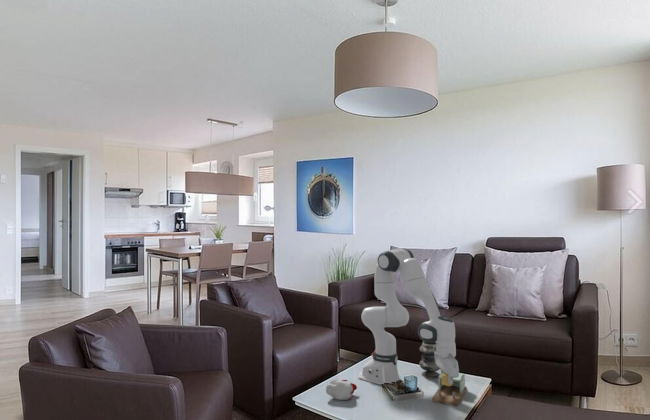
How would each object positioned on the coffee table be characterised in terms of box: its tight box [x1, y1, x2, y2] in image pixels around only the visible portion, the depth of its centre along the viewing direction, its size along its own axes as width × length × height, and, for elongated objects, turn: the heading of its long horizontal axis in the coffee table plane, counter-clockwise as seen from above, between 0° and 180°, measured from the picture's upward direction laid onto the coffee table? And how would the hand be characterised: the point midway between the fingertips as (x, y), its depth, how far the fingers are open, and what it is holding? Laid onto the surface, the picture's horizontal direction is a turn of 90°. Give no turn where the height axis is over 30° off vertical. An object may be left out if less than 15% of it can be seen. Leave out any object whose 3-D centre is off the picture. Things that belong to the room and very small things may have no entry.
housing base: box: [431, 385, 467, 407], centre depth 206 cm, size 12×22×4 cm, turn 151°
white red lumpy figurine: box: [325, 378, 358, 401], centre depth 205 cm, size 9×11×15 cm
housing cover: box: [437, 372, 466, 393], centre depth 210 cm, size 11×9×6 cm
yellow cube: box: [441, 373, 453, 386], centre depth 200 cm, size 4×4×4 cm
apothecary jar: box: [419, 340, 441, 379], centre depth 233 cm, size 12×12×18 cm
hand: (447, 380), depth 200 cm, fingers closed on yellow cube, 6 cm apart
